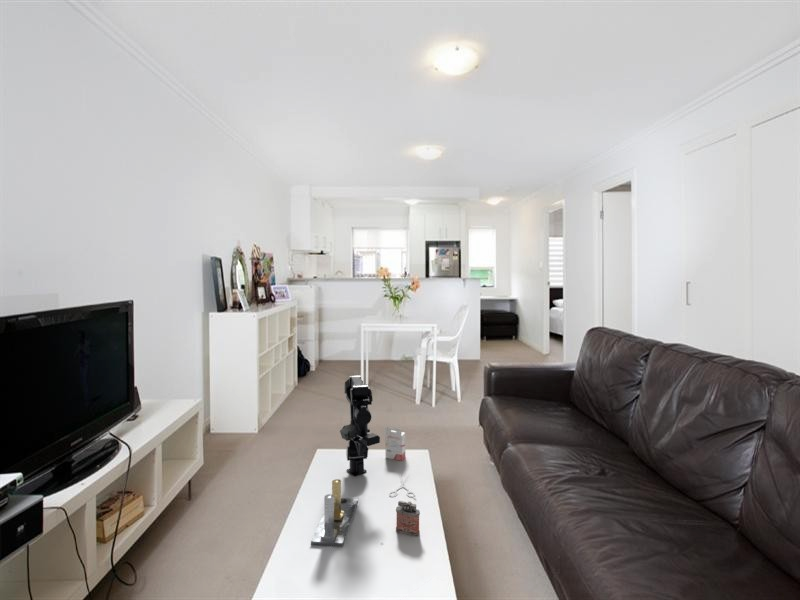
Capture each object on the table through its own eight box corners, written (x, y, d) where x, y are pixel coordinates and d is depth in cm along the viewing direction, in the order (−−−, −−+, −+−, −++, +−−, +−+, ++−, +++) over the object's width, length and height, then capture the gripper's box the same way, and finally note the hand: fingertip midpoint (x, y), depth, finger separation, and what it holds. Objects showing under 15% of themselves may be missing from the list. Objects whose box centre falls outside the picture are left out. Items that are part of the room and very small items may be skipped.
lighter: (420, 531, 128) (421, 502, 127) (417, 538, 124) (418, 507, 124) (397, 526, 130) (398, 497, 130) (394, 532, 127) (394, 502, 127)
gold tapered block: (331, 513, 135) (331, 478, 134) (344, 513, 134) (344, 479, 134) (328, 519, 131) (328, 483, 131) (341, 520, 131) (341, 484, 130)
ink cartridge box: (405, 456, 183) (406, 426, 182) (401, 461, 178) (402, 429, 178) (389, 453, 186) (389, 423, 186) (385, 457, 182) (385, 427, 181)
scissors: (388, 498, 147) (392, 472, 167) (388, 500, 147) (392, 474, 167) (416, 499, 146) (416, 473, 166) (416, 501, 146) (416, 474, 166)
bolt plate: (331, 500, 146) (331, 463, 145) (357, 501, 145) (357, 465, 144) (310, 545, 121) (310, 501, 120) (342, 547, 120) (342, 502, 119)
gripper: (330, 415, 156) (330, 453, 156) (356, 427, 142) (356, 469, 142) (353, 409, 163) (354, 446, 164) (380, 421, 149) (380, 461, 149)
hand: (360, 455), depth 154 cm, fingers closed
